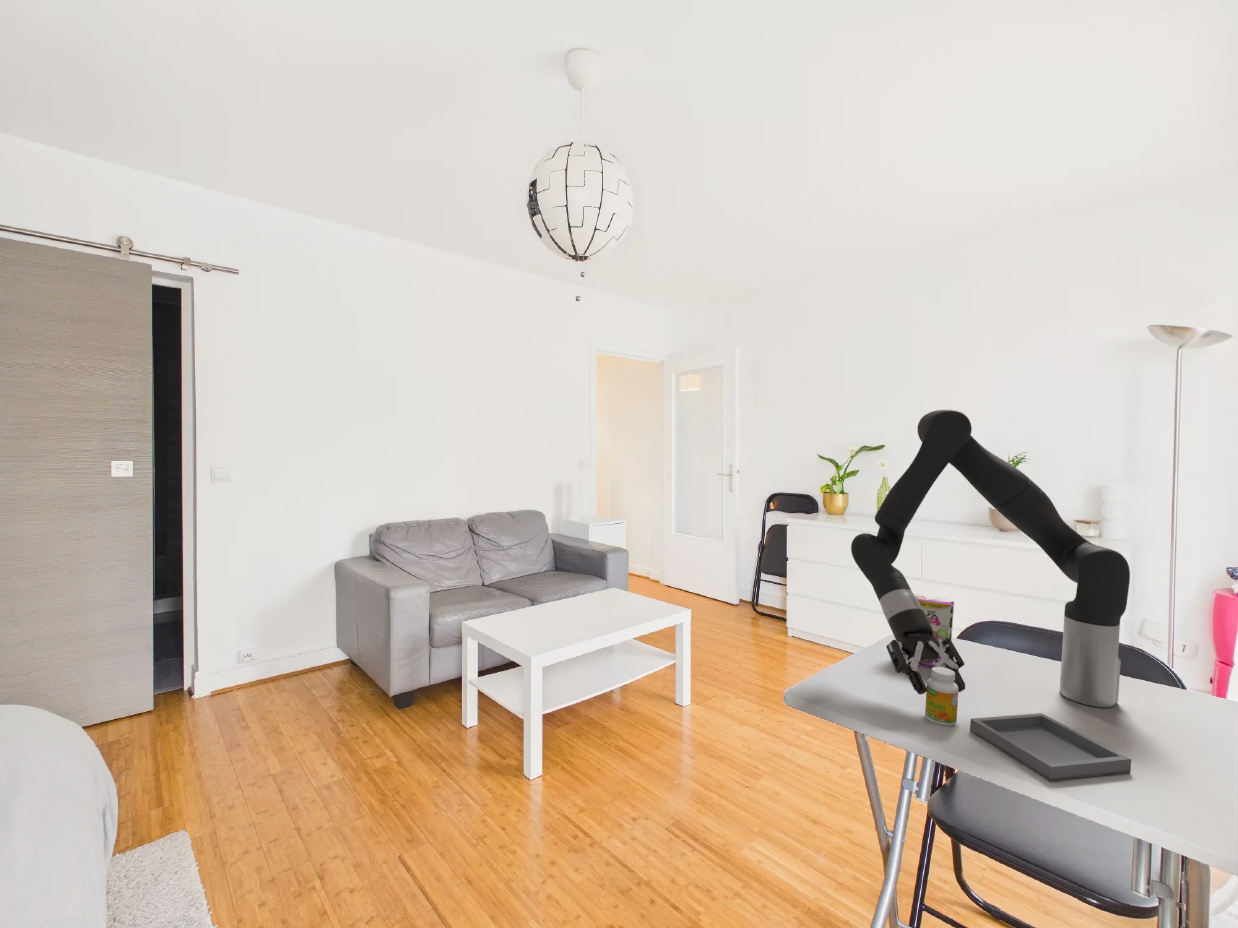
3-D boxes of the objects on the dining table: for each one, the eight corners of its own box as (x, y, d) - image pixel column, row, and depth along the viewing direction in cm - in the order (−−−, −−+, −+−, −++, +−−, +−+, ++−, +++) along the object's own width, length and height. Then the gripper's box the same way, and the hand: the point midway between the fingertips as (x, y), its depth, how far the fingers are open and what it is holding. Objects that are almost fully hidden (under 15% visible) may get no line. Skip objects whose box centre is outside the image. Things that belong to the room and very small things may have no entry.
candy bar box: (897, 661, 141) (901, 596, 140) (900, 655, 145) (903, 592, 144) (949, 672, 135) (953, 604, 134) (950, 665, 139) (954, 599, 138)
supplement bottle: (919, 717, 111) (922, 668, 111) (932, 710, 114) (935, 663, 114) (949, 729, 107) (952, 678, 107) (961, 721, 110) (964, 672, 110)
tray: (1040, 725, 109) (1041, 713, 109) (1130, 773, 94) (1131, 758, 94) (969, 731, 106) (970, 718, 106) (1050, 782, 91) (1051, 766, 90)
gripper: (884, 607, 117) (921, 686, 106) (943, 606, 120) (985, 682, 109) (866, 624, 122) (900, 700, 112) (924, 622, 125) (962, 697, 114)
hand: (942, 691), depth 110 cm, fingers open, 8 cm apart
